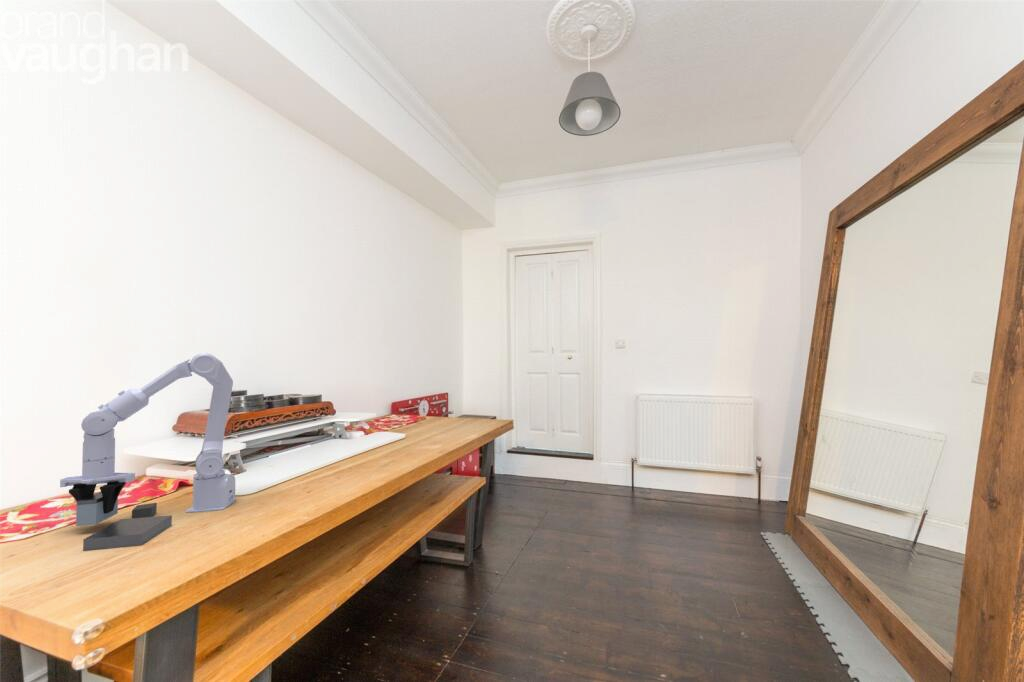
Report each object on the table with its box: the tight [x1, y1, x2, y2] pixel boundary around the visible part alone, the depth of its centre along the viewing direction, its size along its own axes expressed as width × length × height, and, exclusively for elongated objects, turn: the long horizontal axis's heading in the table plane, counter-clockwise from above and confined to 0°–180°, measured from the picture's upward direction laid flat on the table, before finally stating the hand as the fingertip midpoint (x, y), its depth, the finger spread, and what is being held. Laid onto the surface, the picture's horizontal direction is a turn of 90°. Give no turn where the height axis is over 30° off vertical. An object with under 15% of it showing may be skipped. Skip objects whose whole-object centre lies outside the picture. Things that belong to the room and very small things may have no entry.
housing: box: [75, 491, 119, 527], centre depth 100 cm, size 4×7×6 cm, turn 12°
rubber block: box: [131, 502, 157, 519], centre depth 107 cm, size 4×4×3 cm
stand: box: [82, 514, 173, 552], centre depth 94 cm, size 11×11×2 cm
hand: (97, 512), depth 100 cm, fingers closed on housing, 4 cm apart
